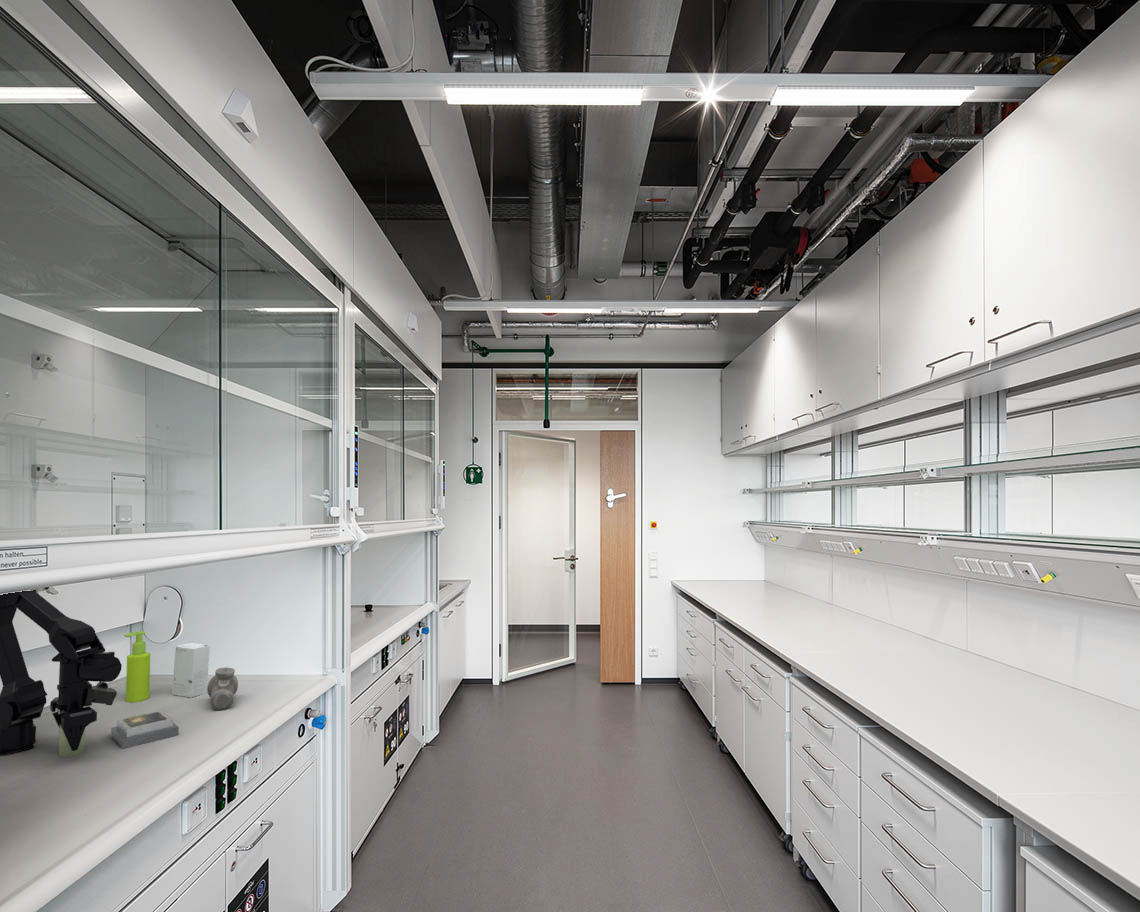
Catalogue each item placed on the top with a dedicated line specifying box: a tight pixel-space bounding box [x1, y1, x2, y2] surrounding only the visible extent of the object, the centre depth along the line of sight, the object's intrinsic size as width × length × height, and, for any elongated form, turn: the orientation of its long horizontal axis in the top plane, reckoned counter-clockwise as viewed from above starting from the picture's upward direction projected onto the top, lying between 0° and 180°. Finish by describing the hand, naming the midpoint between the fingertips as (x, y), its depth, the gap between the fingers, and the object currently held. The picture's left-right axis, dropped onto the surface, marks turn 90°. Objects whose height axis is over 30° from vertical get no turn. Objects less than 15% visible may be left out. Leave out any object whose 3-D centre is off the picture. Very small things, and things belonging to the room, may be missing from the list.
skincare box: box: [171, 642, 211, 699], centre depth 201 cm, size 8×6×15 cm
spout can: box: [57, 725, 86, 758], centre depth 156 cm, size 5×5×9 cm
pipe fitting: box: [207, 666, 239, 711], centre depth 190 cm, size 12×8×10 cm
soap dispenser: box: [123, 630, 151, 703], centre depth 196 cm, size 6×7×20 cm
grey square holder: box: [110, 709, 180, 749], centre depth 167 cm, size 12×12×4 cm
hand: (71, 746), depth 156 cm, fingers open, 7 cm apart
